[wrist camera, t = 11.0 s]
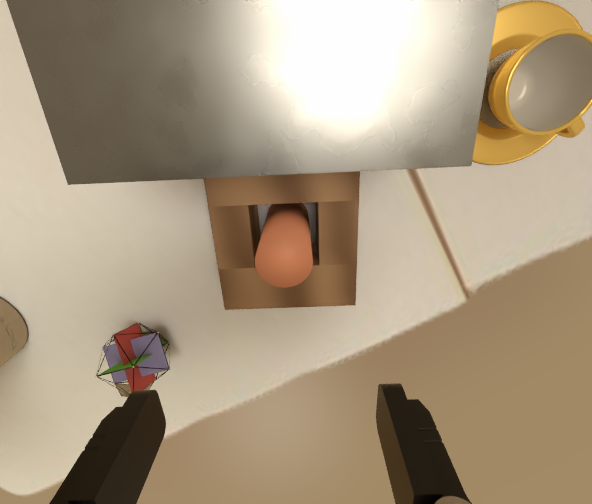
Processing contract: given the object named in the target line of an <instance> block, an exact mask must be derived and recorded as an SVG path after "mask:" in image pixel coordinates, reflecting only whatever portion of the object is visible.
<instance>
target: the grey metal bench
mask: <svg viewBox="0 0 592 504" xmlns="http://www.w3.org/2000/svg"><path fill="white" fill-rule="evenodd" d="M6 1H7V4H8V7H9V10H10V13H11V16H12V19H13V22H14V25H15V28H16V31H17V34H18V37H19V40H20V43H21V46H22V49H23V52H24V55H25V58H26V60H27V63H28V66H29V69H30V72H31V75H32V78H33V81H34V84H35V87H36V90H37V93H38V96H39V99H40V102H41V105H42V108H43V111H44V114H45V117H46V120H47V123H48V126H49V129H50V132H51V135H52V138H53V141H54V144H55V147H56V150H57V153H58V156H59V159H60V162H61V165H62V168H63V171H64V174H65V177H66V180H67V183H68V185H71V184H92V183H114V182H136V181H157V180H179V179H200V178H222V177H244V176H265V175H287V174H309V173H330V172H352V171H374V170H395V169H417V168H439V167H460V166H471V164H472V158H473V152H474V146H475V140H476V135H477V129H478V123H479V117H480V111H481V105H482V99H483V93H484V87H485V82H486V76H487V70H488V64H489V58H490V52H491V46H492V40H493V35H494V29H495V23H496V17H497V11H498V5H499V0H6Z"/></svg>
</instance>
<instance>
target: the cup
mask: <svg viewBox="0 0 592 504" xmlns="http://www.w3.org/2000/svg"><path fill="white" fill-rule="evenodd" d="M518 48H520V49H518ZM512 49H518V50H517V51H515V52H514V53H513V54H512V55H510V56H509V57H508V58H507V59H506V60H505V61H504V62H503V63H502V64H501V66H500V67H499V68H498V70H497V71H496V73H495V74H494V76H493V78H492V80H491V83H490V85H489V89H488V103H489V106H490V109H491V111H492V113H493V115H494V116H495V117H496V118H497V119H498V120H499V121H500V122H501V123H502V124H504V125H505V126H507V127H509V128H493V127H490V126H488V125H486V124H485V123H483V122H482V121H481V120H480V118H479V123H478V129H477V135H476V140H475V146H474V152H473V158H472V161H474V162H477V163H481V164H487V165H500V164H507V163H512V162H515V161H518V160H521V159H524V158H526V157H528V156H530V155H532V154H534V153H535V152H537V151H539V150H540V149H542V148H543V147H545V146H546V145H547V144H548V143H550V142H551V141H552V140H553V139H554V138H555V137H556V136H557V135H560V136H563V137H567V138H573V137H575V136H577V135H578V134H579V133H580V132H581V131H582V130H583V129H584V128H585V124H584V122H583V120H582V118H581V117H582V116H583V115H584V114H585V112H586V111H587V110H588V109H589V108H590V106H591V105H592V35H590V34H589V33H587V32H585V31H583V29H582V27H581V25H580V24H579V22H578V21H577V20H576V19H575V18H574V17H573V16H572V15H571V14H570V13H569V12H568V11H566V10H565V9H563V8H562V7H560V6H558V5H555V4H553V3H549V2H545V1H522V2H517V3H513V4H510V5H507V6H505V7H502V8H500V9H498V11H497V17H496V23H495V29H494V35H493V40H492V46H491V52H490V58H489V63H490V62H491V61H492V60H493V59H494V58H495V57H497V56H498V55H500V54H502V53H504V52H506V51H508V50H512Z"/></svg>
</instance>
